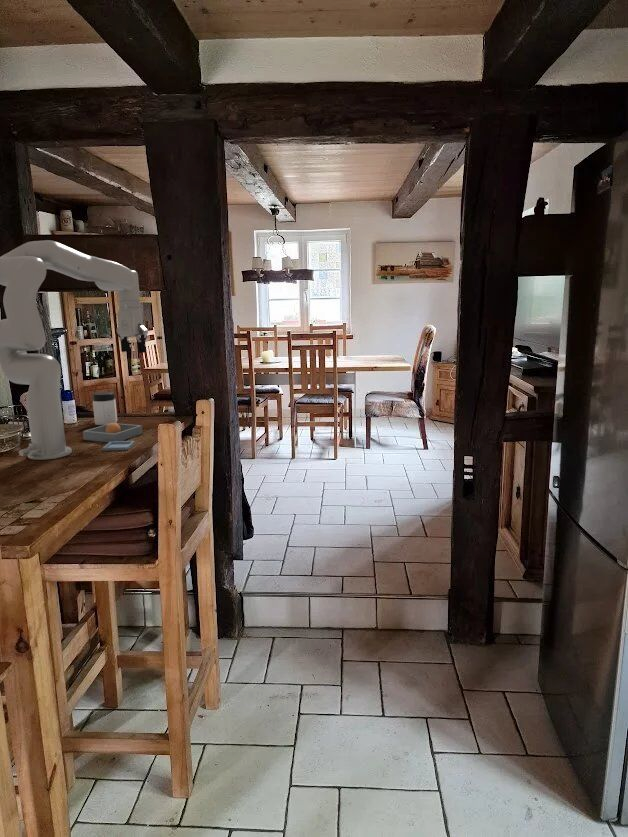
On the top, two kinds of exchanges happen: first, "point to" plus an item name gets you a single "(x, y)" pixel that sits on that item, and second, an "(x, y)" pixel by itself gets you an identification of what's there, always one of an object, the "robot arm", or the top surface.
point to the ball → (113, 428)
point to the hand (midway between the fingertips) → (133, 352)
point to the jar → (104, 408)
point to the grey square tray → (102, 436)
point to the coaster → (118, 445)
